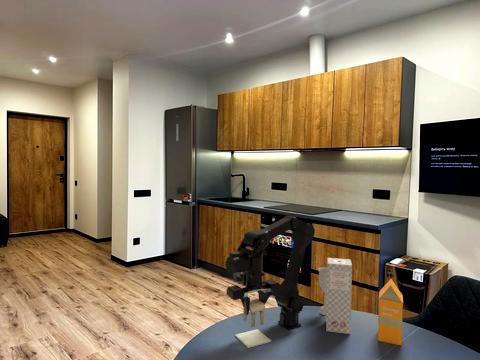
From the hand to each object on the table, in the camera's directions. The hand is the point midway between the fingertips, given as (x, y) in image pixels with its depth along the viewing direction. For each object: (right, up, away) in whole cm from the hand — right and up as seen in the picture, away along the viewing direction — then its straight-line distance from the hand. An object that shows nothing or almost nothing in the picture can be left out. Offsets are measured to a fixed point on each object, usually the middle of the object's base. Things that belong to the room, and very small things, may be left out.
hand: (253, 313), depth 117 cm
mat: (0, -9, 0) cm, 9 cm away
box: (+32, -9, +10) cm, 35 cm away
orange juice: (+48, -10, +3) cm, 50 cm away
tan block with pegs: (0, -3, 0) cm, 3 cm away
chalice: (+31, -9, +23) cm, 39 cm away
